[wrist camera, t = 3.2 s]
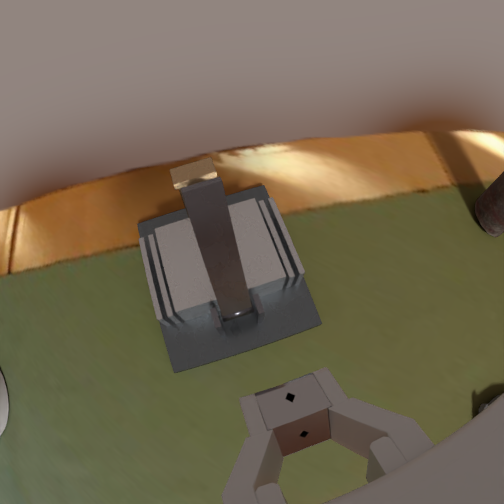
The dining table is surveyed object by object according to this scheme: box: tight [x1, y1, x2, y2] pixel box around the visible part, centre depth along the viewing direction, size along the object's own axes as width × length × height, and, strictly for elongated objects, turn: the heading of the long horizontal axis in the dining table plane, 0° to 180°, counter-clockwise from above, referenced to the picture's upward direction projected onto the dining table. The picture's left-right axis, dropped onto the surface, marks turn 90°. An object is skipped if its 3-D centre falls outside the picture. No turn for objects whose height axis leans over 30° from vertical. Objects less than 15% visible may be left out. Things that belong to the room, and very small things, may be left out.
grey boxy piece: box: [137, 157, 322, 373], centre depth 35 cm, size 18×20×10 cm
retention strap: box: [181, 177, 254, 322], centre depth 27 cm, size 15×3×1 cm
